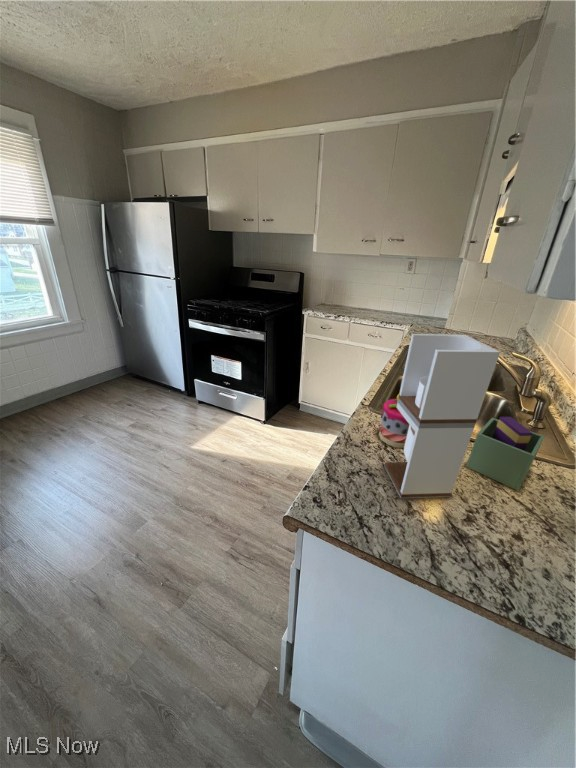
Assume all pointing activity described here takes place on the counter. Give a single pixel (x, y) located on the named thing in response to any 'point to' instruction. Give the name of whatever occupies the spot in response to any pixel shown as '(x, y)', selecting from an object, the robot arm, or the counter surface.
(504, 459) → the waste bin
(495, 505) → the counter surface
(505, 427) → the chocolate bar
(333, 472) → the counter surface
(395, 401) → the cake
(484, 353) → the display case
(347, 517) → the counter surface
